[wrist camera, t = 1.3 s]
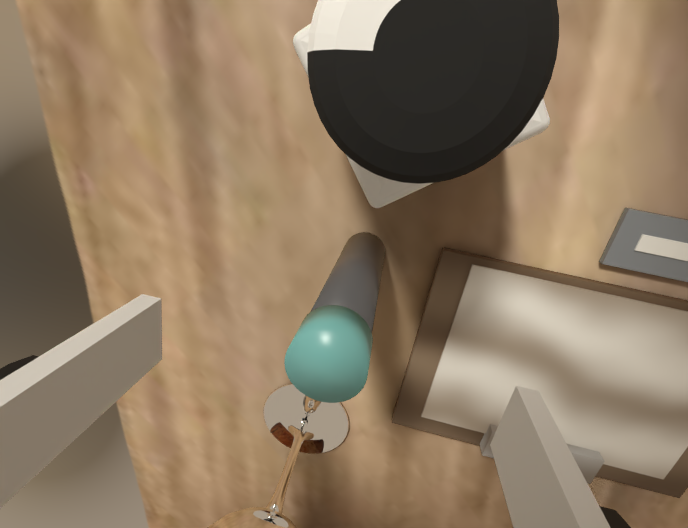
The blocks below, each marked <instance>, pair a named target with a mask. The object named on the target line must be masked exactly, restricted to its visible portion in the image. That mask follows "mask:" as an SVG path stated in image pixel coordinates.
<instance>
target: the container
mask: <svg viewBox="0 0 688 528" xmlns="http://www.w3.org/2000/svg"><path fill="white" fill-rule="evenodd" d="M558 41H559V14H558V7H557V0H318V2H317V5H316V8H315V11H314V14H313V18H312V23H311V24H309V25H308V26H306V27H305V28H303V29H302V30H300V31H299V32H297V33H296V35H295V36H294V39H293V44H294V48H295V51H296V53H297V55H298V57H299V59H300V61H301V63H302V65H303V67H304V69H305V71H306V73H307V75H308V77H309V84H310V90H311V93H312V97H313V101H314V105H315V107H316V110H317V112H318V114H319V117H320V119H321V121H322V123H323V125H324V127H325V128H326V130H327V132H328V134H329V135H330V137H331V138H332V139H333V140H334V142H335V143H336V144H337V146H338V147H339V148H340V149H341V150H342V151H343V152H344V153H345V154H346V156H347V158H348V160H349V163H350V165H351V167H352V169H353V171H354V173H355V175H356V177H357V179H358V181H359V183H360V185H361V187H362V190H363V192H364V194H365V196H366V198H367V200H368V202H369V204H370V205H371V206H372V207H374V208H381V207H383V206H385V205H387V204H389V203H392V202H394V201H396V200H398V199H400V198H402V197H404V196H407V195H409V194H411V193H413V192H415V191H417V190H419V189H422V188H424V187H426V186H428V185H430V184H432V183H435V182H440V181H445V180H450V179H453V178H456V177H459V176H461V175H464V174H467V173H469V172H471V171H473V170H475V169H477V168H479V167H481V166H482V165H484V164H485V163H487V162H488V161H490V160H491V159H493V158H494V157H496V156H497V155H498V154H499V153H501V152H502V151H503V150H505V149H507V148H510V147H512V146H514V145H516V144H518V143H520V142H522V141H525V140H527V139H529V138H531V137H533V136H535V135H537V134H540V133H542V132H543V131H544V130H545V129H547V127H548V125H549V123H550V118H549V115H548V112H547V109H546V106H545V103H544V99H543V97H544V94H545V92H546V89H547V87H548V84H549V82H550V79H551V76H552V72H553V68H554V65H555V61H556V56H557V48H558Z"/></svg>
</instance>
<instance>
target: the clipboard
mask: <svg viewBox="0 0 688 528" xmlns="http://www.w3.org/2000/svg"><path fill="white" fill-rule="evenodd" d="M516 386H519V387H523V388H528V389H532V390H536V391H539V393H540V394H541V396H542V398H543V400H544V402H545V404H546V406H547V408H548V410H549V412H550V413H551V415H552V417H553V419H554V421H555V423H556V425H557V427H558V429H559V431H560V432H561V434H562V436H563V438H564V440H565V442H566V444H567V446H568V448H569V450H570V451H571V453H572V455H573V457H574V459H575V461H576V463H577V465H578V467H579V469H580V470H581V472H582V474H583V476H584V478H585V480H586V482H587V483H588V484H591V482H592V481H593V479H594V477H595V476H597V477H601V478H605V479H609V480H612V481H616V482H620V483H624V484H628V485H631V486H635V487H639V488H643V489H647V490H651V491H654V492H658V493H662V494H666V495H670V496H673V497H677V498H680V497H681V495H682V494H683V493H684V492H685V490H686V489H687V488H688V301H687V300H682V299H678V298H673V297H669V296H664V295H659V294H655V293H650V292H646V291H641V290H636V289H632V288H627V287H622V286H618V285H613V284H609V283H604V282H599V281H595V280H590V279H586V278H581V277H576V276H572V275H567V274H563V273H558V272H553V271H549V270H544V269H539V268H535V267H530V266H526V265H521V264H516V263H512V262H507V261H503V260H498V259H493V258H489V257H484V256H479V255H475V254H470V253H466V252H461V251H456V250H452V249H447V248H442V252H441V255H440V258H439V262H438V265H437V268H436V272H435V275H434V278H433V282H432V285H431V289H430V292H429V295H428V299H427V302H426V305H425V309H424V312H423V315H422V319H421V322H420V325H419V329H418V332H417V335H416V339H415V342H414V345H413V349H412V352H411V356H410V359H409V362H408V366H407V369H406V372H405V376H404V379H403V382H402V386H401V389H400V392H399V396H398V399H397V402H396V406H395V409H394V413H393V416H392V423H395V424H399V425H403V426H407V427H411V428H414V429H418V430H422V431H426V432H430V433H433V434H437V435H441V436H445V437H449V438H453V439H456V440H460V441H464V442H468V443H472V444H475V445H479V446H480V449H481V453H482V455H483V456H487V457H490V458H494V457H493V453H492V449H491V446H490V444H491V441H492V439H493V437H494V435H495V432H496V430H497V428H498V426H499V423H500V421H501V419H502V416H503V414H504V412H505V410H506V407H507V405H508V403H509V401H510V398H511V396H512V394H513V392H514V389H515V387H516Z"/></svg>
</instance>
